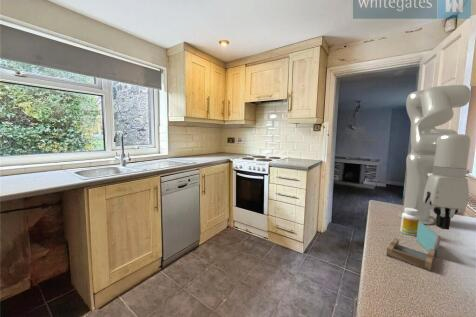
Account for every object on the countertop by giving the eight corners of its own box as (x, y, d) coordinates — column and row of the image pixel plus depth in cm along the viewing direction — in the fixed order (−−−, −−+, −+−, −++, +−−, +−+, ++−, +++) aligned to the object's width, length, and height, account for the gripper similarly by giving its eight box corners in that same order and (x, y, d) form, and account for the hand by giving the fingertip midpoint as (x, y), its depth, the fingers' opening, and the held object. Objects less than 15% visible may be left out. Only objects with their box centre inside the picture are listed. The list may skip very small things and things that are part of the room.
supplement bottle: (420, 236, 80) (423, 212, 79) (404, 235, 81) (407, 211, 80) (412, 230, 85) (414, 207, 84) (397, 229, 87) (399, 206, 85)
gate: (419, 240, 77) (421, 222, 76) (438, 258, 66) (441, 237, 65) (415, 240, 77) (417, 222, 77) (433, 257, 66) (436, 236, 66)
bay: (394, 244, 74) (394, 237, 74) (433, 257, 66) (434, 250, 66) (386, 255, 67) (387, 248, 67) (430, 271, 59) (431, 263, 59)
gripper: (464, 172, 70) (457, 225, 72) (415, 169, 72) (409, 221, 74) (487, 176, 63) (479, 235, 64) (431, 173, 65) (425, 230, 66)
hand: (442, 227), depth 69 cm, fingers closed
